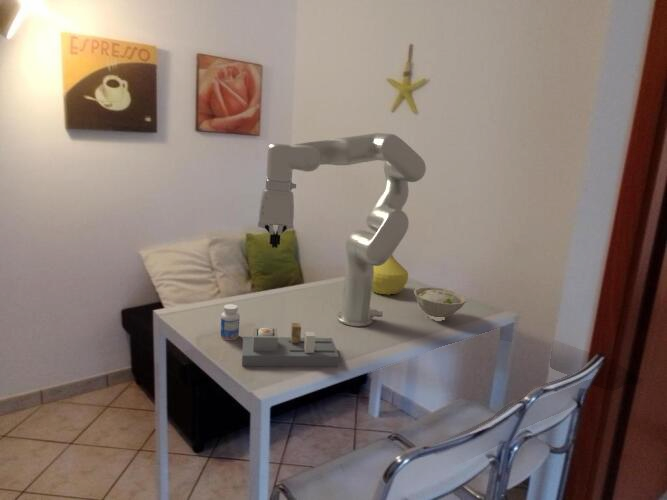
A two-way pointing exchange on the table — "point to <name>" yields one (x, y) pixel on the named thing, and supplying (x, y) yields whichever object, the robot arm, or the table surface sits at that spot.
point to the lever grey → (309, 342)
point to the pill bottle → (230, 322)
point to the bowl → (439, 301)
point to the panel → (286, 351)
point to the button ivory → (265, 332)
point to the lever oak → (295, 333)
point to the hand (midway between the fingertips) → (274, 246)
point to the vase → (389, 277)
